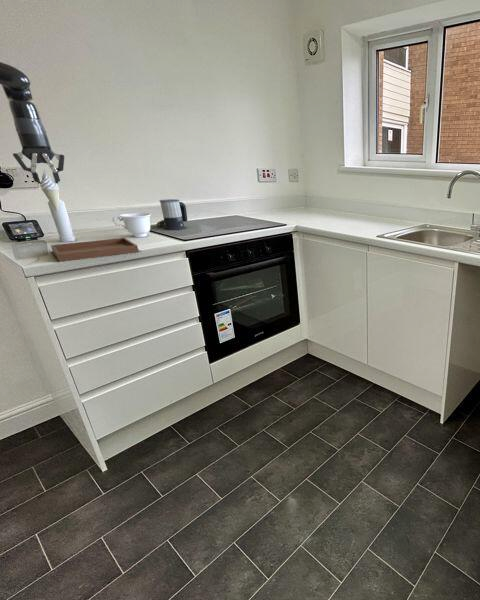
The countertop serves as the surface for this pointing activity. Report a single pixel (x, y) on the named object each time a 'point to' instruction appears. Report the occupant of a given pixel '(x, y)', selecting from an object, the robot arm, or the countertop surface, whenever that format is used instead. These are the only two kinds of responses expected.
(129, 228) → the teacup
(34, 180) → the robot arm
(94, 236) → the countertop surface
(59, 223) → the bottle
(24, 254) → the countertop surface
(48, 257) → the countertop surface
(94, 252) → the serving tray
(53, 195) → the ice cream cone
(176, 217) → the milk frother
